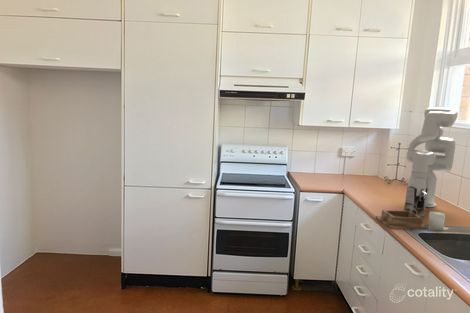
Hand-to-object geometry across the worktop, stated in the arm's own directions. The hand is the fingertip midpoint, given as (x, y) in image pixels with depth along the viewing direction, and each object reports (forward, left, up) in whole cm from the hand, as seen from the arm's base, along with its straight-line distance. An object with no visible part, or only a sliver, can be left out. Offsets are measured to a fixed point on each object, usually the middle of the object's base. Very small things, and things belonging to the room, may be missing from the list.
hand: (415, 205), depth 192 cm
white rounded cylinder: (+18, +1, -6) cm, 19 cm away
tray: (+14, -15, -6) cm, 21 cm away
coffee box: (0, 0, -6) cm, 6 cm away
